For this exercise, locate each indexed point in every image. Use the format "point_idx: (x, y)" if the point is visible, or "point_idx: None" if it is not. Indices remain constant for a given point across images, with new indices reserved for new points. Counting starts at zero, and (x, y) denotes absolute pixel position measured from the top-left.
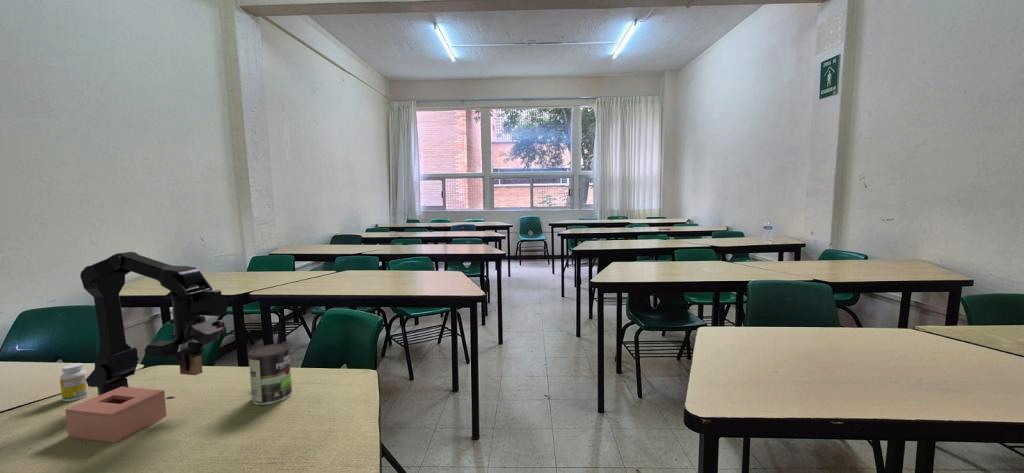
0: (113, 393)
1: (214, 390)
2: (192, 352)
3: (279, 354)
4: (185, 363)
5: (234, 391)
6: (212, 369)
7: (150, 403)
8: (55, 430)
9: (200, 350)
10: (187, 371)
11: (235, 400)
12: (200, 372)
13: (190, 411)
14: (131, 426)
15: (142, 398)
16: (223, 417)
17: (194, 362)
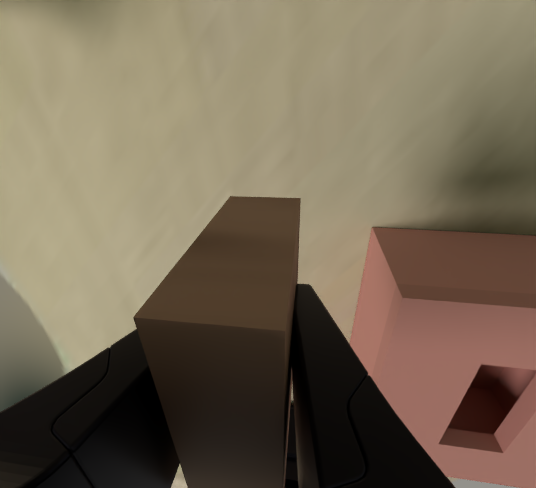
0: None
1: (161, 220)
2: (149, 467)
3: None
4: (351, 353)
5: (133, 119)
6: (69, 344)
7: (474, 279)
8: None
9: (55, 426)
10: (308, 286)
11: (197, 10)
12: (250, 198)
13: (331, 159)
14: (533, 249)
15: (507, 327)
16: None
17: (290, 277)
